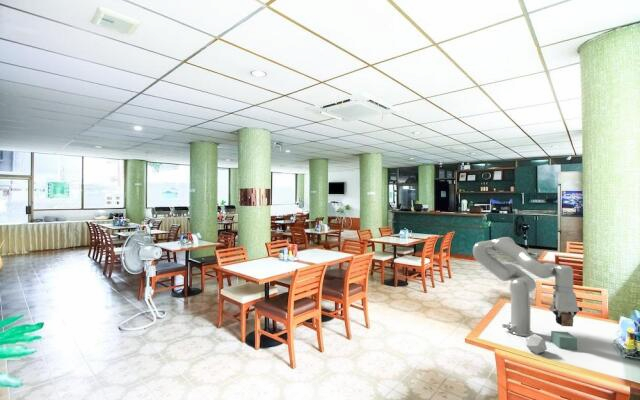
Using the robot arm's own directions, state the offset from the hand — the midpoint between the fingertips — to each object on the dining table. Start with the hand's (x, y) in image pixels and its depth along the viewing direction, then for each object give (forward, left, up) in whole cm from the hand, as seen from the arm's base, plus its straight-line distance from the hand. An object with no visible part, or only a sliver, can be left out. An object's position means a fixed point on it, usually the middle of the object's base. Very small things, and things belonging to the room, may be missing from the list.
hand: (564, 323), depth 166 cm
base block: (0, 0, -12) cm, 12 cm away
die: (-19, -9, -12) cm, 24 cm away
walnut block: (0, 0, -1) cm, 1 cm away
